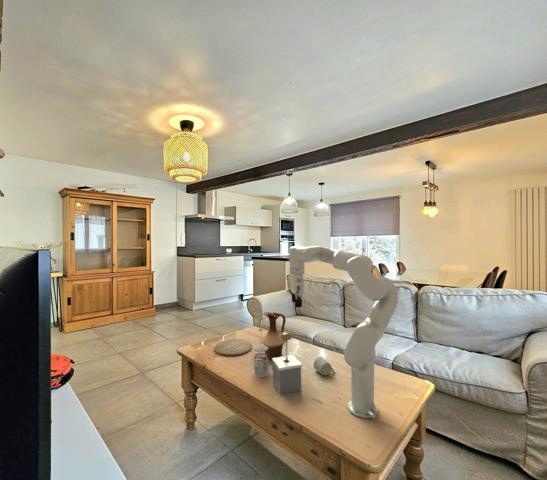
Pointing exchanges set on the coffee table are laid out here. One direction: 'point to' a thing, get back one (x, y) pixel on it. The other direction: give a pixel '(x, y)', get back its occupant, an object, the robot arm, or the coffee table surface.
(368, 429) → the coffee table surface
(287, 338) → the plunger
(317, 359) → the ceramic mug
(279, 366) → the socket block
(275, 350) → the pitcher
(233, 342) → the trivet
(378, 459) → the coffee table surface
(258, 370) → the french press
